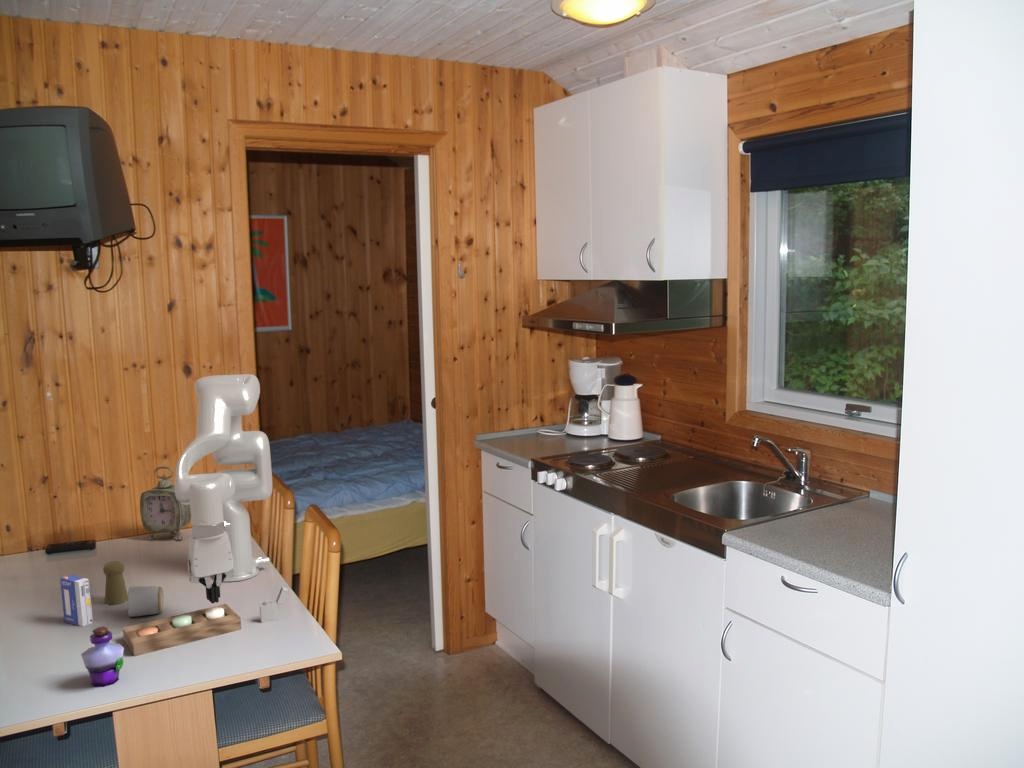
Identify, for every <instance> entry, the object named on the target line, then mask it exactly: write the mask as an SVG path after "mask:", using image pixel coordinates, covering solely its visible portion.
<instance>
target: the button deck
mask: <svg viewBox="0 0 1024 768" xmlns="http://www.w3.org/2000/svg"><path fill="white" fill-rule="evenodd" d="M212 608H223V609H224V617H220V618H215V619H211V620H207V619H206V611H207V610H209V609H212ZM183 615H188V616H191V620H192V624H191V625H187V626H182V627H178V628H173V623H172V620H173V619H174V618H175V617H178V616H183ZM148 627H155V628H157V629H158V633H153V634H149V635H145V636H141V637H138V631H139V630H141V629H144V628H148ZM239 630H242V620H241V616H240V615H238V613H236V612H235V611H234V610H233V609H232V608H231V607H230V606H229V605H228V604H227V603H224V604H219V605H215V606H209V607H205V608H202V609H198V610H194V611H189V612H185V613H181V614H177V615H176V614H175V615H172V616H168V617H167V616H166V617H163V618H159V619H155V620H151V621H146V622H141V623H138V624H134V625H129V626H125V627H122V633H123V634H122V635H123V636H122V637H123V641H124V642H125V645H127V647H128V649H129V650H130V652H131V653H132V654H133V656H134V657H136V656H140V655H144V654H149V653H151V652H152V653H153V652H156V651H160V650H165V649H168V648H172V647H176V646H181V645H184V644H188V643H192V642H195V641H200V640H204V639H207V638H212V637H215V636H219V635H223V634H228V633H231V632H235V631H239Z"/></svg>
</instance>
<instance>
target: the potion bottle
mask: <svg viewBox="0 0 1024 768" xmlns="http://www.w3.org/2000/svg"><path fill="white" fill-rule="evenodd" d="M111 640H113V633H112V631H110V630H109V627H108V626H103V625H102V626H99V627H95V628H94V629H92V634H91V635H90V636H89V641H90V643H91V644H92V645H94V646H92V647H89V648H87V649H86V650H84V651H83V652H82V653H81V654H80V655H81V659H82V662H83V665H84V667H85V668H86V670H87V672H88V675H89V676H90V677H89V678H90V679H91V686H92V687H93V688H96V687H97V688H105V687H109V686H110V685H114V684H115V683H117V682H118V681H119V680H120V678H119V677H120V670H121V669H122V667H123V666H124V658H123V657H124V650H125V647H124V646H122V645H121V643H110V641H111Z"/></svg>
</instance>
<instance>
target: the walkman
mask: <svg viewBox="0 0 1024 768" xmlns="http://www.w3.org/2000/svg"><path fill="white" fill-rule="evenodd" d="M59 581H60V591H61V599H62V601H61V602H62V609H63V610H62V611H63V621H64V622H66V623H68V624H69V623H70V624H71V625H76V626H81V627H85V626H88V625H92V624H93V623H94V622H93V621H94V619H93V609H92V599H91V593H90V582H89V578H86V577H85V578H84V577H81V576H77V575H72V574H69V575H66V576H62V577H60V579H59Z"/></svg>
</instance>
